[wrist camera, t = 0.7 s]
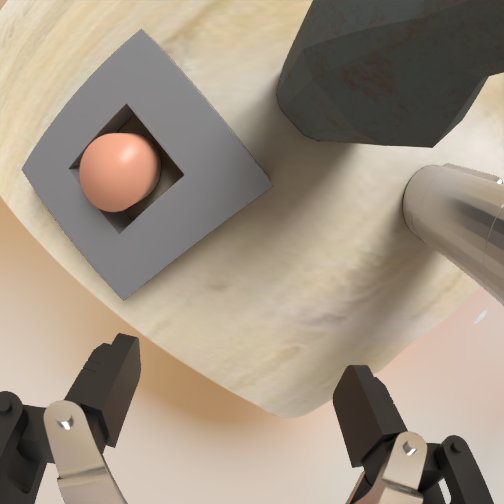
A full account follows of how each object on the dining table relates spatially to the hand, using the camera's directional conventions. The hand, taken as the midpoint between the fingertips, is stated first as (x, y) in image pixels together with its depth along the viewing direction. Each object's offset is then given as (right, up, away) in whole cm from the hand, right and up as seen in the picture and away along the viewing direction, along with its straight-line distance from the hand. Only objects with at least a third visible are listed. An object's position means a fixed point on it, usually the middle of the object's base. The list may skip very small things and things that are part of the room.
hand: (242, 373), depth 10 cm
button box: (-12, +14, +17) cm, 25 cm away
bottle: (+8, +20, +15) cm, 26 cm away
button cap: (-12, +13, +15) cm, 23 cm away
